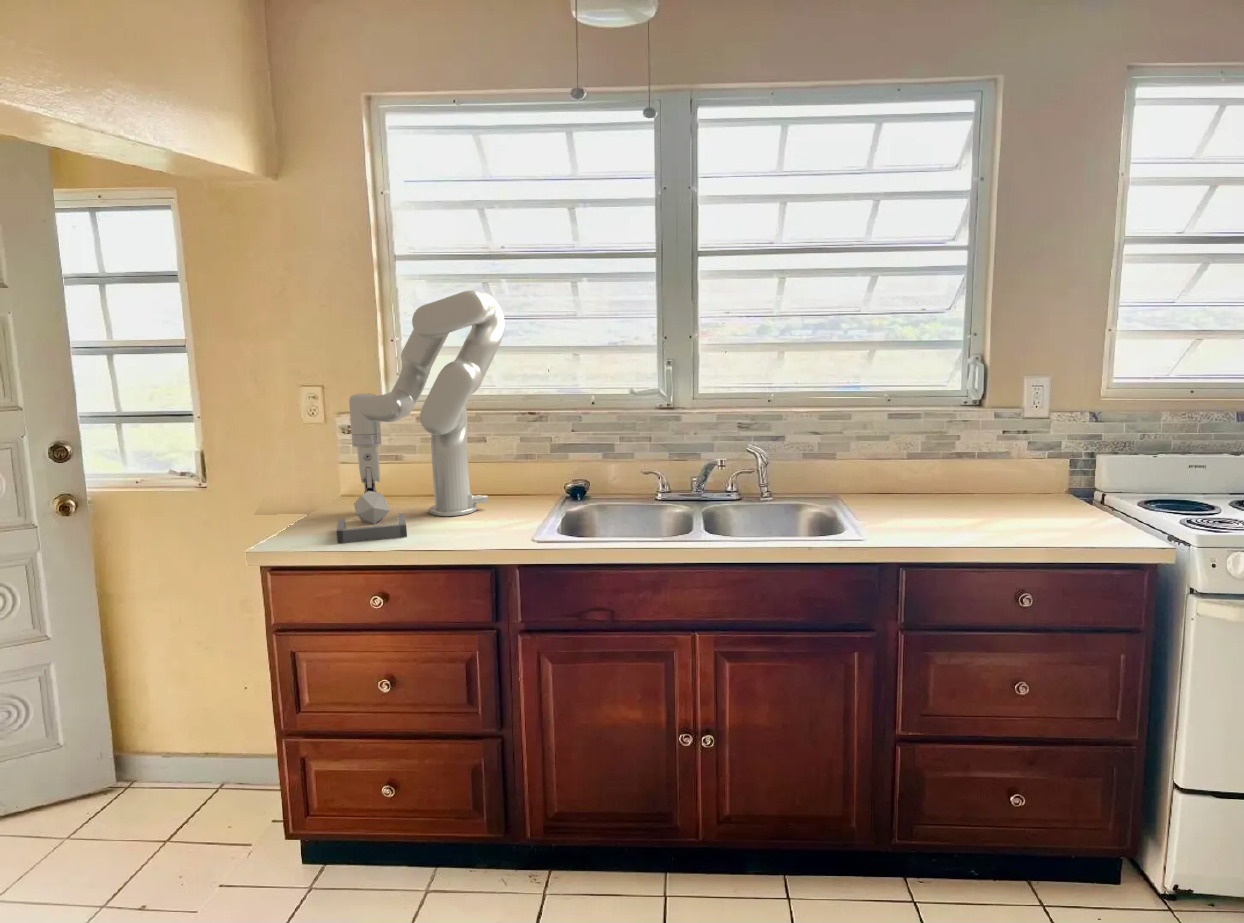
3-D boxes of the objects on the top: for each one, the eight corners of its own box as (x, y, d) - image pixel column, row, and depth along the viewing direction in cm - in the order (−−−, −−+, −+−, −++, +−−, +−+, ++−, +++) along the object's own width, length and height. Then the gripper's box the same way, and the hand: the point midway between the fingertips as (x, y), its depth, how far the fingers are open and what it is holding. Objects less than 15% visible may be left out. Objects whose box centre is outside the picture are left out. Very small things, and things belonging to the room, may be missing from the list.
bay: (405, 524, 215) (404, 512, 214) (407, 536, 202) (406, 524, 202) (339, 530, 210) (338, 518, 210) (337, 543, 198) (336, 531, 198)
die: (397, 523, 219) (391, 490, 223) (378, 514, 211) (373, 480, 215) (369, 533, 220) (364, 500, 224) (350, 525, 213) (345, 491, 216)
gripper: (381, 443, 219) (386, 511, 222) (380, 435, 233) (385, 499, 236) (351, 444, 216) (356, 513, 220) (352, 436, 231) (357, 501, 234)
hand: (371, 506), depth 228 cm, fingers closed
